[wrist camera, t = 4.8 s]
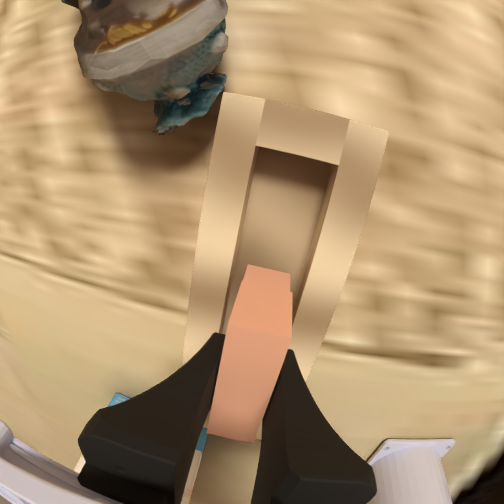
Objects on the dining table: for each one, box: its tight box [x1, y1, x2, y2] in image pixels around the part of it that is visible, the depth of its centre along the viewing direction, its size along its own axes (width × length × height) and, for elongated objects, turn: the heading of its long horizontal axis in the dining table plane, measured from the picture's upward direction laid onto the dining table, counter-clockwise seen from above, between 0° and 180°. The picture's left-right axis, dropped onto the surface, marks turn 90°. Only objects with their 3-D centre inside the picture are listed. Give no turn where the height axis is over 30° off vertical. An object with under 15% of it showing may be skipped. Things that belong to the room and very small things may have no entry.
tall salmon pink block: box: [207, 264, 292, 443], centre depth 13 cm, size 6×2×6 cm, turn 169°
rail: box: [182, 92, 389, 440], centre depth 17 cm, size 20×7×2 cm, turn 169°
